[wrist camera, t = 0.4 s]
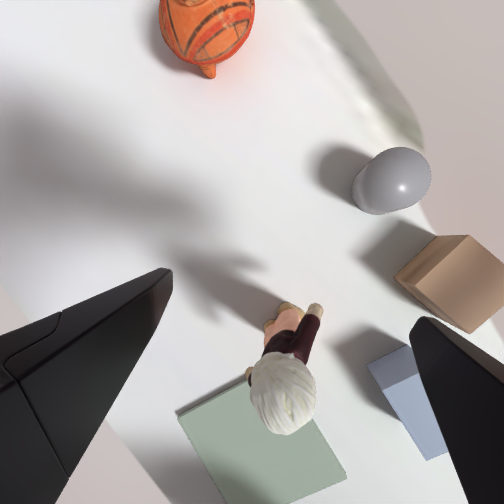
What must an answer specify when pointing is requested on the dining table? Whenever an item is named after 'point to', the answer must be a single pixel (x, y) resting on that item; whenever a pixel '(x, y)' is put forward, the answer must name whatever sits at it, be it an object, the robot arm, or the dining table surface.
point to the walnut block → (456, 281)
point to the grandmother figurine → (286, 370)
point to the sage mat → (257, 452)
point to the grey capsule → (392, 181)
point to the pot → (206, 29)
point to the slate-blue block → (409, 399)
